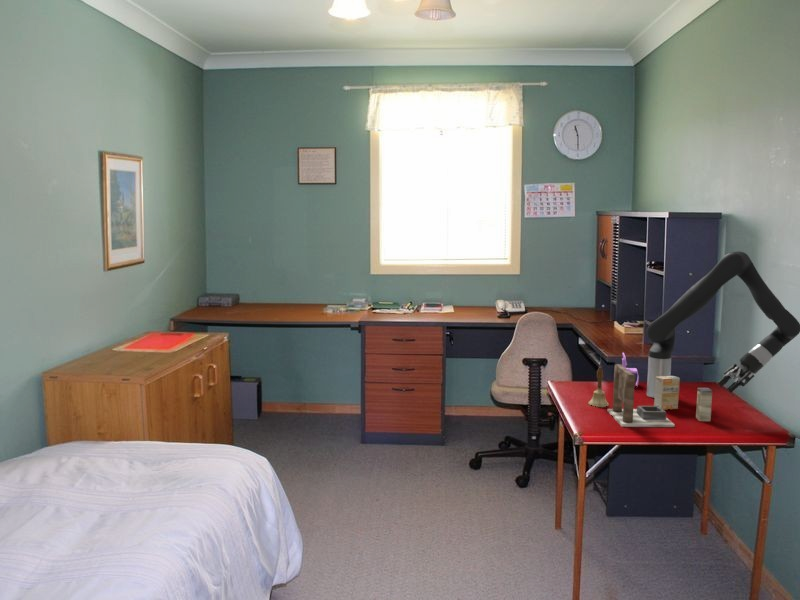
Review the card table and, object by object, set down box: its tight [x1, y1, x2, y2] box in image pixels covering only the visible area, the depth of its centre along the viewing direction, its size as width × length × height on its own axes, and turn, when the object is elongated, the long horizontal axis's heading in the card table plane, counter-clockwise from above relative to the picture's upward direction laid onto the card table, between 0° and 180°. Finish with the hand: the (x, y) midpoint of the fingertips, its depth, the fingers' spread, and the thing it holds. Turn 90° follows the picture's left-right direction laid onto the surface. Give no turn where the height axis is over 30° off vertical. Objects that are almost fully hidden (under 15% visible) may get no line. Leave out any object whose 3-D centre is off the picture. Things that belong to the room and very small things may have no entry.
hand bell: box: [587, 366, 610, 408], centre depth 299 cm, size 8×8×16 cm
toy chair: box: [621, 352, 640, 388], centre depth 332 cm, size 8×9×15 cm
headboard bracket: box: [607, 363, 675, 428], centre depth 279 cm, size 20×20×19 cm
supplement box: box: [653, 375, 681, 411], centre depth 294 cm, size 8×5×13 cm, turn 106°
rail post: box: [695, 387, 713, 422], centre depth 279 cm, size 4×4×12 cm
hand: (723, 387), depth 278 cm, fingers open, 8 cm apart
